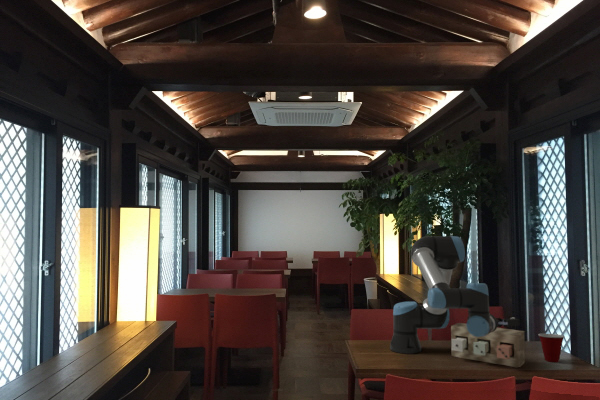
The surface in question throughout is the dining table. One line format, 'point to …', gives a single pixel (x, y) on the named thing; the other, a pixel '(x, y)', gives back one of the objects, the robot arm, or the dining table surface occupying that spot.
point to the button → (459, 344)
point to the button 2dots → (481, 347)
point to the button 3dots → (504, 351)
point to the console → (491, 345)
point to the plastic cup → (551, 346)
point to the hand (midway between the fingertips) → (496, 319)
